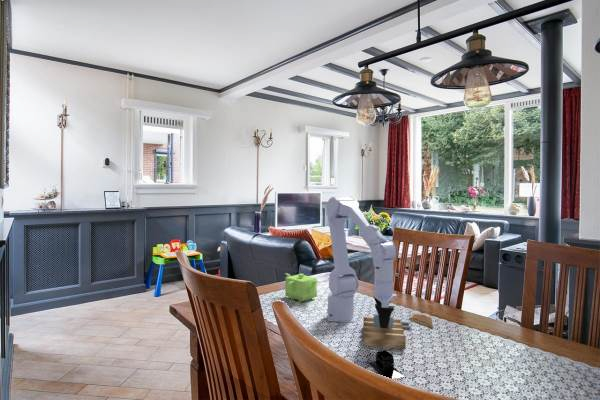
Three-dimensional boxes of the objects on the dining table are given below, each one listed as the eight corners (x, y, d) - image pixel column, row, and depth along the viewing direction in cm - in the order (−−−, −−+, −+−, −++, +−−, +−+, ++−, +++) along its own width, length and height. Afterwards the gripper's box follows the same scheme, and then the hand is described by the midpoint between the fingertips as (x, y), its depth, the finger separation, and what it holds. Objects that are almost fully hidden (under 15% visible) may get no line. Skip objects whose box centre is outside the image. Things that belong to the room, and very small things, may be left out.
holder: (388, 329, 120) (389, 326, 120) (387, 323, 125) (387, 320, 125) (410, 330, 119) (410, 327, 119) (408, 324, 124) (408, 321, 124)
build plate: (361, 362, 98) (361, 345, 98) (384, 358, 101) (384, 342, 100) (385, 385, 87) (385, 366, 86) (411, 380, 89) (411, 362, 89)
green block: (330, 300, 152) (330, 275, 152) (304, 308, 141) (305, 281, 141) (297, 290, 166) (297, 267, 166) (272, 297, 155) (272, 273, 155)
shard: (433, 331, 120) (433, 325, 120) (409, 328, 122) (409, 323, 122) (431, 320, 130) (431, 315, 130) (409, 317, 133) (409, 313, 133)
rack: (363, 346, 107) (364, 333, 107) (363, 328, 121) (363, 316, 121) (405, 349, 105) (405, 335, 105) (399, 330, 119) (400, 318, 119)
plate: (373, 335, 112) (373, 316, 112) (373, 333, 114) (373, 314, 114) (393, 336, 112) (393, 317, 111) (392, 334, 113) (392, 315, 113)
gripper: (399, 287, 105) (398, 333, 105) (394, 275, 119) (393, 316, 119) (374, 285, 106) (374, 331, 106) (372, 274, 120) (372, 314, 120)
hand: (383, 323), depth 113 cm, fingers open, 7 cm apart
